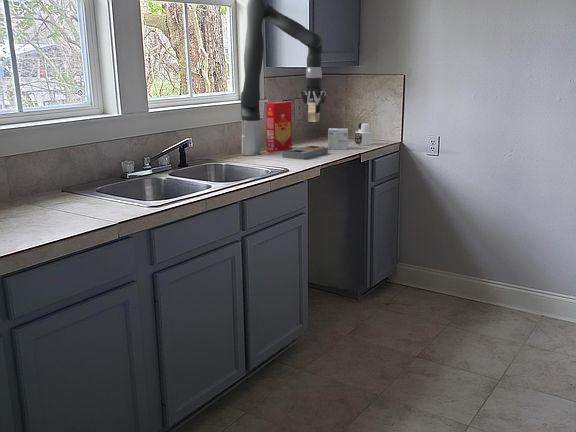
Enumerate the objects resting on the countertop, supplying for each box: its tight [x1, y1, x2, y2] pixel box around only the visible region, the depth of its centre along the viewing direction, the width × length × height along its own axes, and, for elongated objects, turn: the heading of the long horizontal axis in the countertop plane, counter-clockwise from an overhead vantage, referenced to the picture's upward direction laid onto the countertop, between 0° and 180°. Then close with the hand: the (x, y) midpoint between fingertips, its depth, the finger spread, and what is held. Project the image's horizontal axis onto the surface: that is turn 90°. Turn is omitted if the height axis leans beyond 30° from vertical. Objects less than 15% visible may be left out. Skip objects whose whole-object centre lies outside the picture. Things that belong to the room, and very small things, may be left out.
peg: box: [307, 101, 320, 123], centre depth 288 cm, size 4×4×9 cm
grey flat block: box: [282, 145, 329, 161], centre depth 287 cm, size 22×12×4 cm, turn 145°
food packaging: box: [265, 101, 293, 153], centre depth 307 cm, size 15×5×25 cm, turn 143°
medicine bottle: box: [354, 122, 373, 146], centre depth 329 cm, size 7×7×12 cm
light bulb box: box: [327, 127, 349, 150], centre depth 314 cm, size 11×7×11 cm, turn 84°
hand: (313, 112), depth 288 cm, fingers closed on peg, 4 cm apart
